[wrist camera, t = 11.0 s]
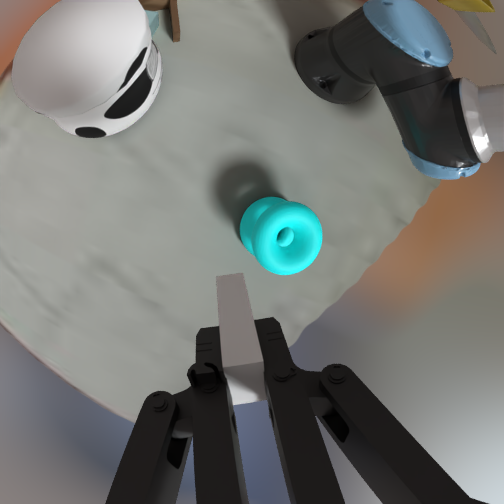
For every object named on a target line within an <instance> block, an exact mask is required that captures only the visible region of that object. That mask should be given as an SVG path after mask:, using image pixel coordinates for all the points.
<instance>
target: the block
mask: <svg viewBox="0 0 504 504" xmlns="http://www.w3.org/2000/svg"><path fill="white" fill-rule="evenodd" d="M145 12H146V14H147V17H148V19H149V27H150V30H151V37H152V36H153V35H154V33H155V31H156V29H157V28H158V26H159V19H158V12H154V11H148V10H145Z"/></svg>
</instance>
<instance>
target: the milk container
mask: <svg viewBox="0 0 504 504" xmlns="http://www.w3.org/2000/svg"><path fill="white" fill-rule="evenodd" d="M162 73H163V65H162V58H161V54H160V52H159V49H158V47H157V45H156V44H155V42H154V41H153V40H152V37H151V30H150V27H149V19H148V17H147V14H146V12H145V10H144V9H143V7H142V5H141V4H140V2H139V1H138V0H61V1H59V2H57V3H56V4H55V5H54V6H52V7H51V8H50V9H49V10H47V11H46V12H45V13H44V14H43V15H41V16H40V17H39V18H38V19H37V20H36V21H35V23H34V24H33V25H32V27H31V28H30V29H29V30H28V32H27V33H26V34H25V36H24V37H23V39H22V41H21V43H20V45H19V47H18V50H17V52H16V54H15V57H14V60H13V68H12V77H11V79H12V82H13V86H14V89H15V93H16V95H17V96H18V97H19V98H20V99H21V100H22V101H23V102H24V103H25V104H26V105H27V106H29V107H30V108H31V109H32V110H34V111H35V112H37V113H39V114H42V115H44V116H46V117H48V118H51V119H53V120H54V121H55V122H56V124H57V125H58V126H59V127H61V128H62V129H63V130H65V131H67V132H68V133H70V134H73V135H76V136H79V137H85V138H99V137H105V136H109V135H112V134H115V133H118V132H120V131H122V130H124V129H126V128H128V127H129V126H131V125H132V124H134V123H135V122H136V121H137V120H138V119H140V118H141V117H142V116H143V115H144V114H145V112H146V111H147V110H148V109H149V107H150V106H151V104H152V103H153V101H154V99H155V97H156V95H157V93H158V91H159V88H160V84H161V80H162Z"/></svg>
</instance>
